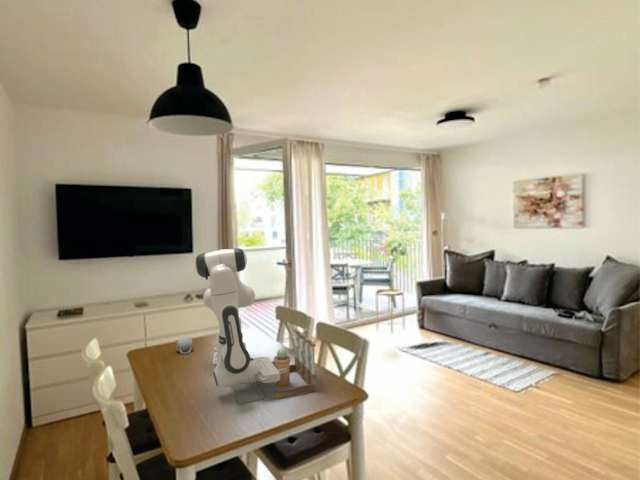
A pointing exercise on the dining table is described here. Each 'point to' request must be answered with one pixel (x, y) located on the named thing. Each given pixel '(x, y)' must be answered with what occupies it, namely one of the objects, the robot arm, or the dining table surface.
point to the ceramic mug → (184, 345)
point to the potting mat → (247, 393)
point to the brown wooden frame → (301, 367)
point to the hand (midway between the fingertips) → (284, 366)
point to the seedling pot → (281, 362)
